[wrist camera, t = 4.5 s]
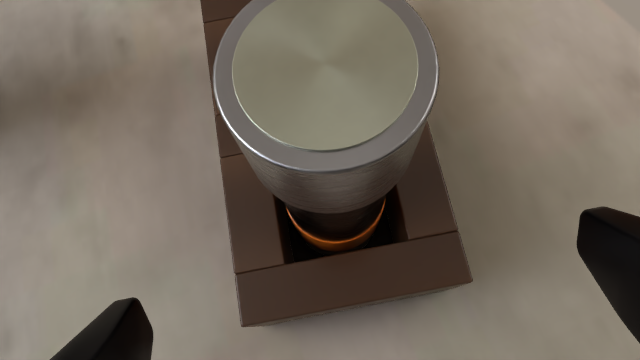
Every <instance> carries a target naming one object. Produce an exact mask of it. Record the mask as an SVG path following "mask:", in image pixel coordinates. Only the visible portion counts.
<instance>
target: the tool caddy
mask: <svg viewBox="0 0 640 360" xmlns="http://www.w3.org/2000/svg"><path fill="white" fill-rule="evenodd" d="M200 1H201V9H202V17H203V23H204V32H205V40H206V48H207V56H208V64H209V72H210V80H211V88H212V96H213V104H214V112H215V122H216V130H217V138H218V146H219V154H220V158H221V159H220V162H221V170H222V179H223V187H224V195H225V203H226V211H227V219H228V227H229V235H230V243H231V251H232V259H233V267H234V273H235V274H236V275H235V282H236V290H237V298H238V306H239V314H240V322H241V326H242V327H256V326H267V325H272V324H277V323H282V322H287V321H292V320H297V319H303V318H308V317H313V316H318V315H323V314H328V313H333V312H338V311H343V310H349V309H354V308H359V307H364V306H369V305H374V304H379V303H384V302H389V301H395V300H400V299H405V298H410V297H415V296H420V295H425V294H430V293H435V292H441V291H446V290H449V289H452V288H456V287H459V286H462V285H465V284H468V283H471V282H473V279H472V275H471V272H470V268H469V265H468V261H467V258H466V254H465V251H464V247H463V244H462V241H461V237H460V234H459V232H458V231H457V230H458V227H457V223H456V220H455V216H454V213H453V209H452V206H451V202H450V199H449V195H448V192H447V188H446V185H445V181H444V178H443V174H442V171H441V167H440V164H439V160H438V157H437V153H436V150H435V146H434V143H433V139H432V136H431V132H430V129H429V125H428V122H426V124H425V127H424V129H423V132H422V134H421V137H420V139H419V142H418V144H417V147H416V149H415V152H414V154H413V156H412V159H411V161H410V164H409V166H408V167H407V169H406V171H405V173H404V174H403V176H402V177H401V179H400V180H399V181H398V183H397V184H396V185H395V186H394V187H393V188H392V189H391V190H390V191H389V192H387V195H386V198H385V205H384V206H385V210H386V214H387V218H388V222H389V227H390V231H391V235H392V239H393V244H387V245H382V246H377V247H372V248H367V249H362V250H357V251H352V252H346V253H341V254H336V255H331V256H326V257H321V258H316V259H311V260H305V261H300V262H295V263H294V257H293V251H292V245H291V239H290V233H289V227H288V221H287V215H286V209H285V204H284V202H283V201H282V200H281V199H279V198H278V197H276V196H275V195H274V194H272V193H271V192H270V191H269V190H268V189H267V188H266V187H265V186H264V185H263V183H262V182H261V181H260V180H259V179H258V177H257V175H256V174H255V172H254V170H253V169H252V167H251V165H250V164H249V162H248V160H247V159H246V157H245V156H244V154H243V152H242V151H241V149H240V147H239V146H238V144H237V142H236V141H235V139H234V137H233V136H232V134H231V132H230V131H229V129H228V127H227V126H226V124H225V122H224V121H223V119H222V117H221V115H220V112H219V110H218V107H217V104H216V100H215V96H214V91H213V65H214V61H215V56H216V52H217V49H218V46H219V43H220V40H221V39H222V37H223V35H224V33H225V31H226V29H227V27H228V26H229V25H230V23H231V22H232V20H233V19H234V18H235V16H236V15H237V14H238V13H239V12H240V11H241V10H242V9H243V8H244V7H245V6H246V5H247V4H248V3H250V2H251V1H252V0H200Z"/></svg>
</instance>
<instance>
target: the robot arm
mask: <svg viewBox="0 0 640 360" xmlns="http://www.w3.org/2000/svg"><path fill="white" fill-rule="evenodd" d="M577 249H578V252H579V255H580V257H581V258H582V260H583V261H584V263H585V264H586V266H587V268H588V269H589V271H590V272H591V274H592V275H593V277H594V279H595V280H596V282H597V283H598V285H599V286H600V288H601V290H602V291H603V293H604V294H605V296H606V297H607V299H608V300H609V302H610V304H611V305H612V307H613V308H614V310H615V311H616V313H617V314H618V316H619V317H620V319H621V320H622V321H623V323H624V324H625V325H626V327H627V328H628V329H629V330H630V332H631V333H632V334H633V335H634V337H635V338H636V339H637V341H638V342H639V343H640V217H638V216H635V215H632V214H628V213H625V212H622V211H618V210H615V209H612V208H608V207H597V208H592V209H587V210H584V211H583V212H582V213H581V215H580V220H579V228H578V236H577ZM152 345H153V330H152V326H151V324H150V322H149V320H148V318H147V315H146V313H145V311H144V309H143V307H142V305H141V303H140V301H139V300H138V299H137V298H134V297H132V298H127V299H122V300H117V301H115V302H113V303H112V304H111V305H110V306H109V307H108V308H107V309H105V310H104V311H103V312H102V313H101V314H100V315H99V316H98V317H97V318H96V319H94V320H93V321H92V322H91V323H90V324H89V325H88V326H87V327H86V328H84V329H83V330H82V331H81V332H80V333H79V334H78V335H77V336H76V337H74V338H73V339H72V340H71V341H70V342H69V343H68V344H67V345H66V346H64V347H63V348H62V349H61V350H60V351H59V352H58V353H57V354H56V355H54V356H53V357H52V358H51V359H50V360H151V353H152Z"/></svg>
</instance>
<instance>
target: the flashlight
mask: <svg viewBox="0 0 640 360" xmlns="http://www.w3.org/2000/svg"><path fill="white" fill-rule="evenodd" d="M438 84H439V62H438V55H437V51H436V47H435V44H434V41H433V39H432V36H431V34H430V32H429V30H428V28H427V26H426V25H425V23H424V22H423V20H422V18H421V17H420V16H419V15H418V14H417V12H416V11H415V10H414V9H413V8H412V7H411V6H410V5H409V4H408V3H407V2H406V1H405V0H252V1H251V2H250V3H248V4H247V5H246V6H245V7H244V8H243V9H242V10H241V11H240V12H239V13H238V14H237V15H236V16H235V18H234V19H233V20H232V22H231V23H230V25H229V26H228V27H227V29H226V31H225V33H224V35H223V37H222V39H221V40H220V43H219V46H218V49H217V52H216V56H215V61H214V65H213V91H214V96H215V100H216V104H217V107H218V110H219V112H220V115H221V117H222V119H223V121H224V122H225V124H226V126H227V127H228V129H229V131H230V132H231V134H232V136H233V137H234V139H235V141H236V142H237V144H238V146H239V147H240V149H241V151H242V152H243V154H244V156H245V157H246V159H247V160H248V162H249V164H250V165H251V167H252V169H253V170H254V172H255V174H256V175H257V177H258V179H259V180H260V181H261V182H262V183H263V185H264V186H265V187H266V188H267V189H268V190H269V191H270V192H271V193H272V194H274V195H275V196H276V197H278V198H279V199H281V200H282V201H283V202H284V204H285V206H286V209H287V212H288V214H289V216H290V218H291V220H292V222H293V224H294V226H295V228H296V229H297V231H298V233H299V234H300V235H301V237H302V238H303V240H304V241H305V242H306V244H307V245H308V246H309V247H310V248H312V249H313V250H314V251H316V252H318V253H320V254H322V255H325V256H331V255H336V254H341V253H346V252H352V251H357V250H361V249H362V248H363V247H364V246H365V245H366V244H367V243H368V242H369V241H370V239H371V238H372V236H373V234H374V232H375V229H376V227H377V226H378V223H379V221H380V218H381V215H382V212H383V209H384V205H385V198H386V195H387V192H389V191H390V190H391V189H392V188H393V187H394V186H395V185H396V184H397V183H398V181H399V180H400V179H401V177H402V176H403V174H404V173H405V171H406V169H407V167H408V166H409V164H410V161H411V159H412V156H413V154H414V152H415V149H416V147H417V144H418V142H419V139H420V137H421V134H422V132H423V129H424V127H425V124H426V122H427V119H428V117H429V114H430V112H431V109H432V107H433V104H434V101H435V98H436V95H437V90H438Z"/></svg>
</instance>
